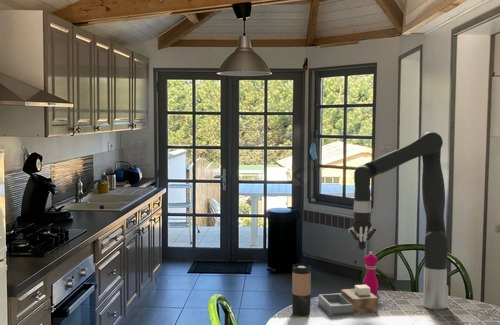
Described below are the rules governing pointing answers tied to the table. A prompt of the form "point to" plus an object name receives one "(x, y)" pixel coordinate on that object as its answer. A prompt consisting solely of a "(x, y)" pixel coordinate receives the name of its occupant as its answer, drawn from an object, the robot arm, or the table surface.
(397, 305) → the table surface
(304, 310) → the travel mug
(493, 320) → the table surface
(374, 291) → the pepper mill
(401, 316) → the table surface
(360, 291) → the cream square block
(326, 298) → the box
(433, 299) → the robot arm
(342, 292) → the ledge
